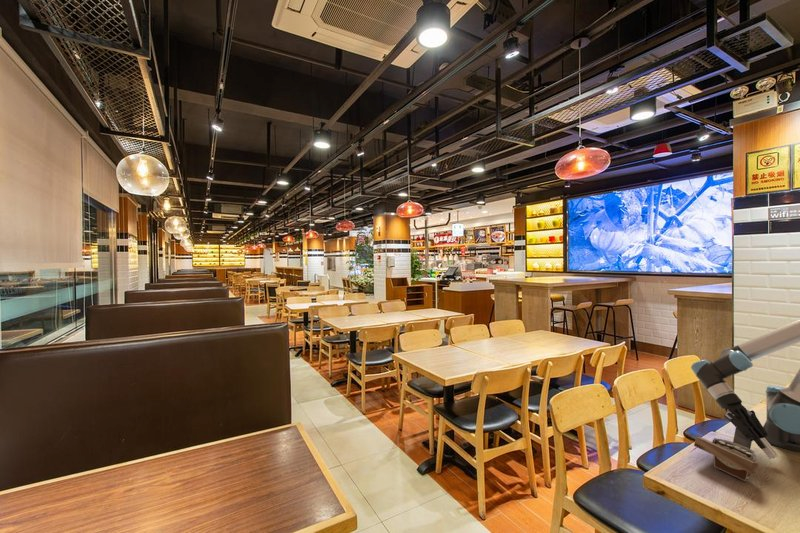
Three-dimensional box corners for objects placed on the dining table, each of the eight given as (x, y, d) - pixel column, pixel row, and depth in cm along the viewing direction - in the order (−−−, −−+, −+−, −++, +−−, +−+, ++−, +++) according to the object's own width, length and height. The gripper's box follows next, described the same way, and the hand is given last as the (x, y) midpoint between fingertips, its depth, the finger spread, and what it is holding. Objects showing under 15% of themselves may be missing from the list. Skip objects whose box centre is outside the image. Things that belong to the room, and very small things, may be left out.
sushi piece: (762, 483, 120) (765, 454, 120) (751, 483, 118) (754, 454, 118) (720, 464, 131) (723, 437, 132) (709, 464, 130) (712, 437, 130)
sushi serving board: (737, 450, 140) (743, 423, 140) (796, 476, 124) (802, 445, 124) (694, 445, 133) (699, 416, 133) (750, 473, 116) (757, 440, 116)
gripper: (730, 398, 150) (779, 458, 133) (705, 401, 147) (751, 462, 131) (745, 391, 144) (797, 452, 128) (718, 393, 142) (768, 456, 126)
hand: (774, 457), depth 129 cm, fingers closed
